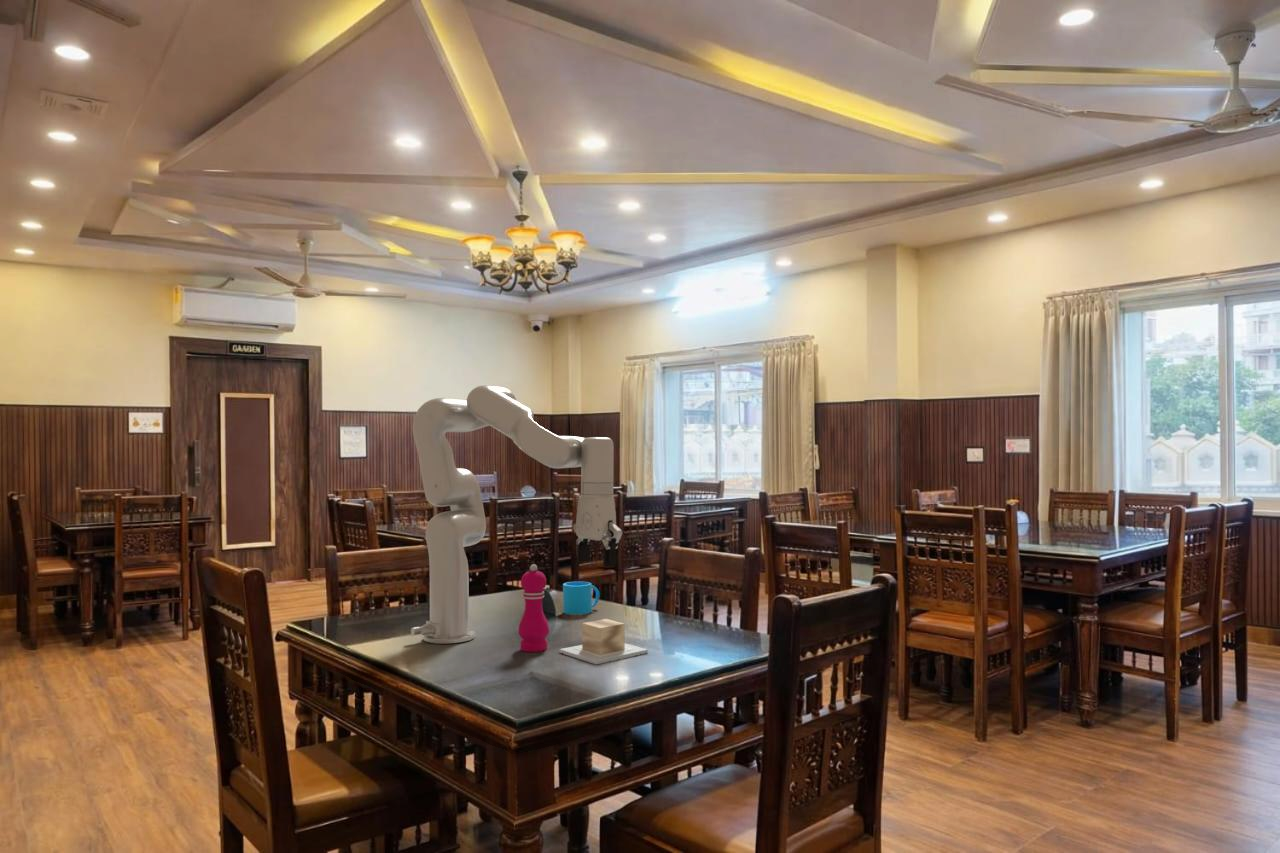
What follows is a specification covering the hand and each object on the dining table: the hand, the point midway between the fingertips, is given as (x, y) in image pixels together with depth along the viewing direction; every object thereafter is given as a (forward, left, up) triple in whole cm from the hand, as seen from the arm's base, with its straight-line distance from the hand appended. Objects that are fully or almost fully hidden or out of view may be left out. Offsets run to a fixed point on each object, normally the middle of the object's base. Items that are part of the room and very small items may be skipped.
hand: (596, 563), depth 197 cm
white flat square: (+1, -1, -21) cm, 21 cm away
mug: (+26, +41, -21) cm, 53 cm away
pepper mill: (-9, +13, -21) cm, 26 cm away
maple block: (+1, -1, -20) cm, 20 cm away
